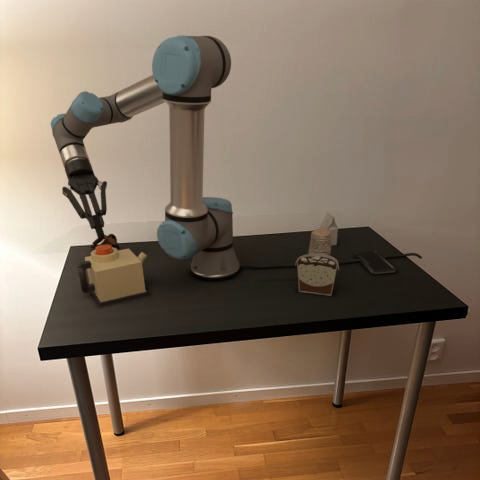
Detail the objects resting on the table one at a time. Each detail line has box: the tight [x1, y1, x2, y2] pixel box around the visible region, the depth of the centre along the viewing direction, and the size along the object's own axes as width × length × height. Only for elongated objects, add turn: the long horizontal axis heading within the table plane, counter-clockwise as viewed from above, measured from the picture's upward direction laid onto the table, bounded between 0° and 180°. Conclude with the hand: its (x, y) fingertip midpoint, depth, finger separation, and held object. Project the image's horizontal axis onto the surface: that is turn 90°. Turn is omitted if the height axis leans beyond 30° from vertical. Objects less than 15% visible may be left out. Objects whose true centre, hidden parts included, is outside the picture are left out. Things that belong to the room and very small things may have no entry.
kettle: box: [84, 247, 147, 302], centre depth 142 cm, size 13×12×12 cm
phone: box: [355, 251, 397, 275], centre depth 158 cm, size 8×1×15 cm
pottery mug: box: [89, 233, 122, 252], centre depth 169 cm, size 12×10×8 cm
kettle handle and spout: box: [76, 251, 149, 307], centre depth 142 cm, size 20×13×11 cm, turn 119°
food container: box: [294, 253, 340, 297], centre depth 141 cm, size 12×6×10 cm, turn 71°
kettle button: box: [96, 244, 112, 255], centre depth 140 cm, size 4×4×2 cm
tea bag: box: [320, 211, 339, 246], centre depth 174 cm, size 4×7×10 cm, turn 12°
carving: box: [307, 228, 332, 256], centre depth 155 cm, size 6×8×12 cm
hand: (101, 237), depth 138 cm, fingers closed
